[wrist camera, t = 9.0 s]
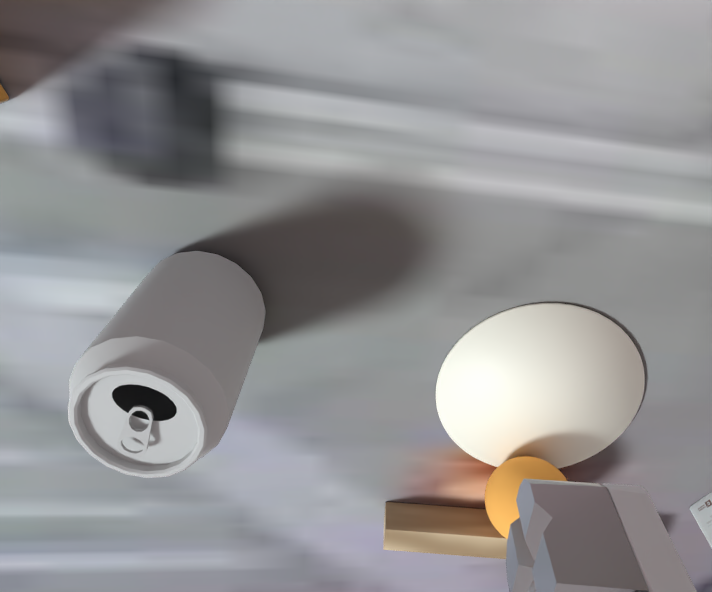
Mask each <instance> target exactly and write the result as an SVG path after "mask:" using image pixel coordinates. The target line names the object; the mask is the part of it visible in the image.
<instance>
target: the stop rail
mask: <svg viewBox="0 0 712 592" xmlns="http://www.w3.org/2000/svg"><path fill="white" fill-rule="evenodd" d="M384 550H396V551H409V552H422V553H435V554H448V555H461V556H474V557H487V558H500V559H506V552H507V539H506V538H505V537H504V536H502V535H501V534H500V533H499V532H498V531H497V530H496V528H495V527H494V526H493V524H492V522H491V521H490V519H489V516H488V514H487V511H486V509H476V508H462V507H449V506H435V505H422V504H409V503H395V502H386V506H385V516H384Z"/></svg>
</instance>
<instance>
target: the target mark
mask: <svg viewBox="0 0 712 592" xmlns="http://www.w3.org/2000/svg"><path fill="white" fill-rule="evenodd" d="M644 385H645V375H644V367H643V363H642V360H641V357H640V354H639V352H638V350H637V348H636V346H635V345H634V343H633V342H632V340H631V339H630V338H629V336H628V335H627V334H626V333H625V332H624V331H623V330H622V329H621V328H620V327H619V326H618V325H616V324H615V323H614V322H613V321H611V320H610V319H608V318H606V317H605V316H603V315H601V314H599V313H597V312H594V311H592V310H589V309H587V308H583V307H579V306H575V305H570V304H562V303H537V304H528V305H524V306H519V307H514V308H511V309H508V310H505V311H502V312H500V313H498V314H496V315H493V316H491V317H489V318H487V319H485V320H484V321H482V322H481V323H479V324H477V325H476V326H474V327H473V328H472V329H471V330H469V331H468V332H467V333H466V334H464V335H463V336H462V337H461V339H460V340H459V341H458V342H457V343H456V344H455V345H454V346H453V348H452V349H451V350H450V352H449V353H448V355H447V356H446V358H445V360H444V362H443V364H442V366H441V369H440V372H439V374H438V379H437V384H436V404H437V410H438V414H439V417H440V420H441V422H442V424H443V426H444V428H445V430H446V431H447V433H448V434H449V436H450V437H451V438H452V439H453V441H454V442H455V443H456V444H457V445H458V446H459V447H461V448H462V449H463V450H464V451H465V452H467V453H468V454H470V455H471V456H473V457H474V458H476V459H478V460H480V461H483V462H485V463H487V464H490V465H493V466H496V467H498V466H500V465H501V464H502V463H504V462H506V461H507V460H510V459H512V458H516V457H522V456H530V457H536V458H540V459H542V460H545V461H547V462H549V463H550V464H552V465H553V466H555V467H556V468H557V469H558V468H562V467H566V466H570V465H573V464H575V463H578V462H581V461H583V460H585V459H587V458H589V457H591V456H593V455H595V454H597V453H598V452H600V451H602V450H603V449H605V448H606V447H607V446H609V445H610V444H611V443H612V442H614V441H615V440H616V439H617V438H618V437H619V436H620V435H621V434H622V433H623V432H624V431H625V430H626V428H627V427H628V426H629V424H630V423H631V422H632V420H633V418H634V417H635V415H636V413H637V411H638V409H639V406H640V404H641V401H642V397H643V393H644Z"/></svg>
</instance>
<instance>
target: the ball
mask: <svg viewBox="0 0 712 592" xmlns="http://www.w3.org/2000/svg"><path fill="white" fill-rule="evenodd" d="M523 479H539V480H554V481H567V479H566V478H565V476H564V475H563V474H562V473H561V472H560V471H559V470H558V469H557V468H556V467H555V466H553V465H552V464H550V463H549V462H547V461H545V460H542V459H540V458H536V457H530V456H522V457H516V458H512V459H510V460H507V461H506V462H504V463H502V464H501V465H500V466H498V467H497V468H496V469H495V470H494V472H493V473H492V475H491V476H490V478H489V480H488V483H487V485H486V490H485V506H486V511H487V514H488V516H489V519H490V521H491V522H492V524H493V526H494V527H495V528H496V530H497V531H498V532H499V533H500V534H501V535H502V536H504V537H505V538H506V539H508V534H509V529H510V524H511V523H513V522H514V521H515V520H517V519H518V518H519V517H520V516H519V511H518V507H517V502H516V498H517V494H518V490H519V486H520V484H521V483H522V481H523Z"/></svg>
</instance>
